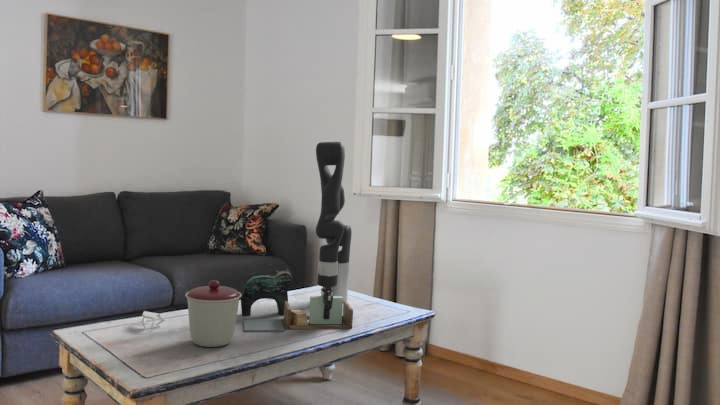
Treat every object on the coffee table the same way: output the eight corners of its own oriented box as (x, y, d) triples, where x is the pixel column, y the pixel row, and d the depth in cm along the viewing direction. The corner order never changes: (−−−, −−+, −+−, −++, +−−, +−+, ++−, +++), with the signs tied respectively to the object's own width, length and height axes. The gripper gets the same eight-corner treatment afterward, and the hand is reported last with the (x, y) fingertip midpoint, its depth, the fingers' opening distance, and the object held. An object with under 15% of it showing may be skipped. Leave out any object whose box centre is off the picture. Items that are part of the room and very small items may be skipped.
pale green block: (309, 322, 243) (310, 296, 242) (340, 321, 246) (341, 296, 245) (310, 324, 240) (311, 298, 239) (341, 324, 243) (343, 298, 242)
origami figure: (170, 328, 226) (170, 314, 226) (150, 333, 220) (150, 319, 219) (149, 321, 233) (150, 308, 233) (129, 325, 227) (129, 312, 226)
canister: (251, 342, 215) (253, 280, 213) (210, 355, 200) (212, 289, 198) (213, 331, 225) (215, 272, 223) (172, 342, 210) (173, 279, 208)
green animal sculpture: (289, 311, 257) (291, 262, 255) (292, 315, 251) (294, 265, 249) (239, 313, 251) (241, 262, 249) (241, 317, 245) (243, 265, 243)
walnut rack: (283, 318, 247) (284, 300, 246) (345, 318, 252) (346, 300, 251) (287, 329, 233) (288, 310, 232) (352, 328, 238) (353, 310, 237)
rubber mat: (243, 320, 240) (243, 319, 240) (280, 320, 243) (280, 319, 243) (244, 331, 227) (244, 330, 227) (284, 331, 230) (284, 329, 230)
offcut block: (288, 321, 243) (288, 310, 243) (298, 320, 245) (299, 309, 245) (297, 327, 236) (297, 315, 236) (307, 326, 239) (308, 314, 238)
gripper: (315, 268, 247) (313, 312, 249) (320, 276, 234) (318, 323, 235) (334, 269, 249) (332, 312, 250) (341, 276, 235) (338, 322, 237)
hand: (325, 317), depth 243 cm, fingers closed on pale green block, 3 cm apart
